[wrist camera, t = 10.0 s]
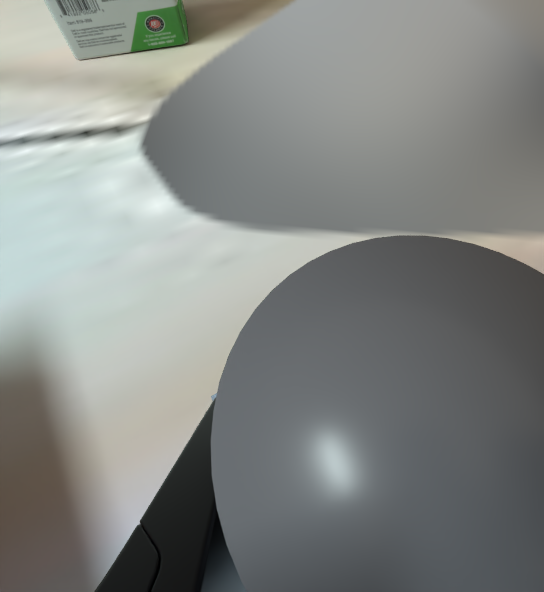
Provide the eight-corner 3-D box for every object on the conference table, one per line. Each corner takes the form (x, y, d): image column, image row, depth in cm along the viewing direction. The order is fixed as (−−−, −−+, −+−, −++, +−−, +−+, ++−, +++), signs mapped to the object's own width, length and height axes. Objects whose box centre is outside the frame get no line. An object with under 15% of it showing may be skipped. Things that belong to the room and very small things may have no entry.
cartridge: (419, 479, 13) (841, 579, 3) (298, 546, 13) (352, 937, 3) (352, 358, 15) (485, 181, 5) (242, 410, 15) (147, 325, 4)
